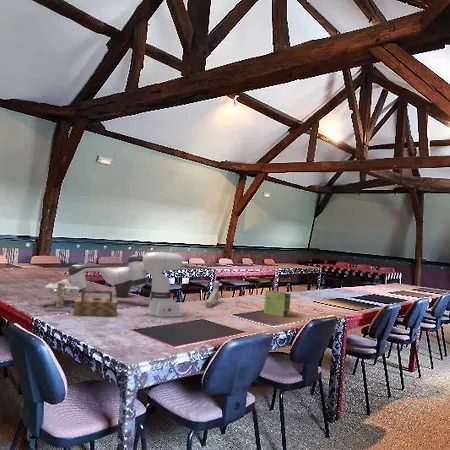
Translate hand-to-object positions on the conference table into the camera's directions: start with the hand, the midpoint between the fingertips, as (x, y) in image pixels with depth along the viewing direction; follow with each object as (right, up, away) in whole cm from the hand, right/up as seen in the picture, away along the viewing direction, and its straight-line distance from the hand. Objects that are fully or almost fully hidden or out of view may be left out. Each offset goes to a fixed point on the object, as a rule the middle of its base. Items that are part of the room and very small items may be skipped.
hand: (60, 291), depth 258 cm
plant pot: (+23, -13, +60) cm, 66 cm away
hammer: (+91, -19, +57) cm, 109 cm away
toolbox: (+23, -12, -4) cm, 26 cm away
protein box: (+137, -22, +40) cm, 145 cm away
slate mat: (-1, -10, +1) cm, 11 cm away
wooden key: (-1, -10, +1) cm, 10 cm away
